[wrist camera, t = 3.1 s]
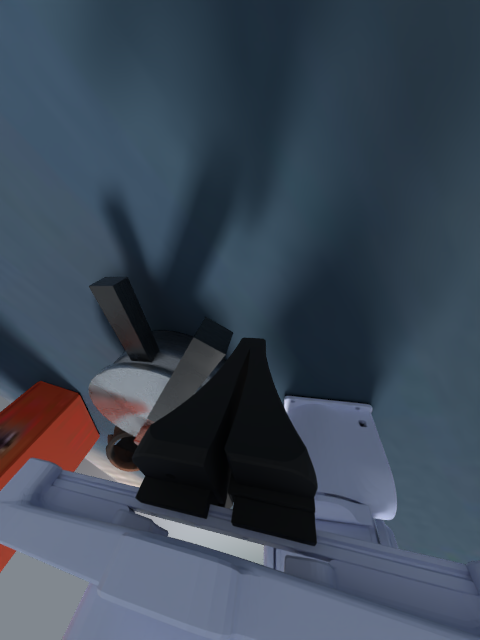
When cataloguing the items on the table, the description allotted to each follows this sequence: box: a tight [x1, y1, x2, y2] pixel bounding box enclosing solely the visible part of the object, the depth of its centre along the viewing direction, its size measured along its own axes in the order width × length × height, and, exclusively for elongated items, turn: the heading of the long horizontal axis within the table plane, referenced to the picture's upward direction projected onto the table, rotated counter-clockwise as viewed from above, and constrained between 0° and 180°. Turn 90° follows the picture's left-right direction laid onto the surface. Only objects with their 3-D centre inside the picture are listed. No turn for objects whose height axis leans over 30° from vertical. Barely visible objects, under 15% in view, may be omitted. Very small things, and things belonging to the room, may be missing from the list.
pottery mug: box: [106, 426, 139, 472], centre depth 35 cm, size 12×9×8 cm
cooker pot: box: [89, 277, 226, 387], centre depth 23 cm, size 24×14×5 cm, turn 6°
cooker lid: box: [89, 317, 233, 445], centre depth 19 cm, size 22×15×2 cm, turn 151°
